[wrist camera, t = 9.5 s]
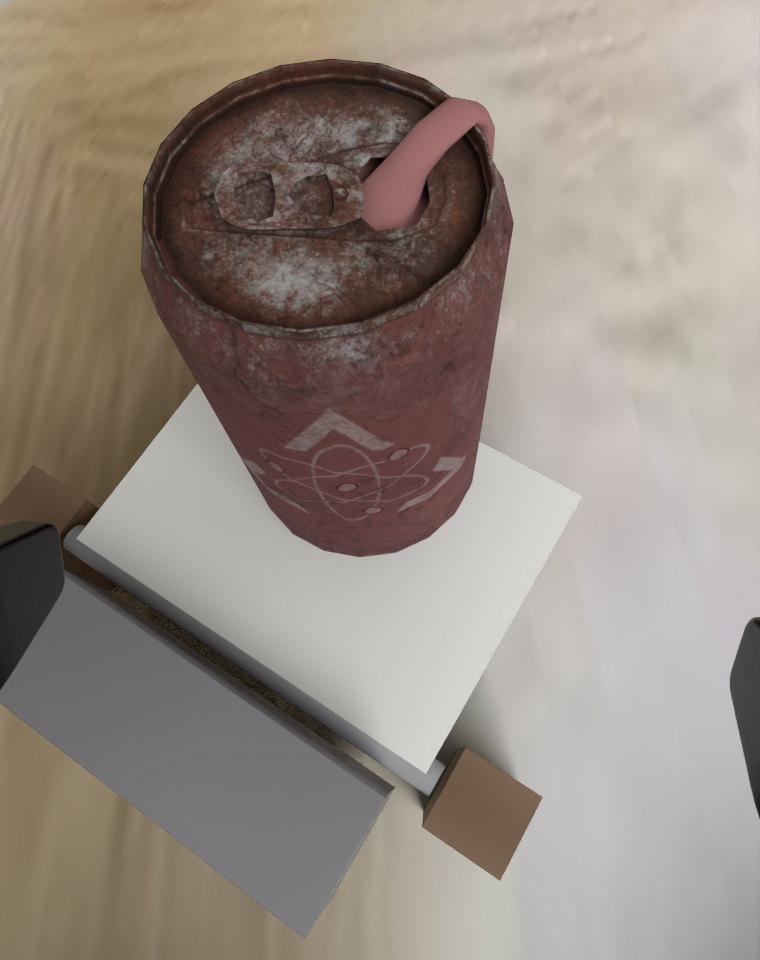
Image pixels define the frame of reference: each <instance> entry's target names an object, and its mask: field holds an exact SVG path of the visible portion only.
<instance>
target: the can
mask: <svg viewBox="0 0 760 960" xmlns="http://www.w3.org/2000/svg"><path fill="white" fill-rule="evenodd" d="M494 133H495V129H494V124H493V122H492V120H491V117H490V115H489V112H488V111H487V110H486V108H485V107H484V106H483V105H481V104H480V103H478V102H475V101H471V100H466V99H461V98H455V97H450V96H449V95H448V94H446V93H445V92H443V91H442V90H440V89H439V88H438V87H436V86H435V85H433V84H432V83H430V82H429V81H428V80H426V79H424V78H421V77H418V76H416V75H413V74H410V73H407V72H404V71H401V70H398V69H395V68H392V67H389V66H386V65H384V64H381V63H372V62H360V61H349V60H338V59H325V60H317V61H309V62H302V63H294V64H287V65H279V66H277V67H274V68H271V69H268V70H266V71H263V72H260V73H257V74H255V75H252V76H249V77H246V78H244V79H241V80H238V81H235V82H233V83H231V84H229V85H228V86H226V87H225V88H223V89H222V90H220V91H219V92H217V93H216V94H214V95H213V96H211V97H210V98H208V99H207V100H205V101H204V102H202V103H200V104H199V105H197V106H196V107H194V108H193V109H191V111H190V112H189V113H188V114H187V115H186V116H185V117H184V118H183V120H182V121H181V122H180V123H179V124H178V125H177V126H176V127H175V129H174V130H173V131H172V132H171V133H170V134H169V135H168V136H167V138H166V139H165V140H164V141H163V142H162V143H161V145H160V147H159V149H158V152H157V154H156V156H155V159H154V161H153V163H152V166H151V168H150V170H149V173H148V175H147V177H146V179H145V182H144V184H143V219H142V258H141V272H142V274H143V277H144V280H145V282H146V285H147V287H148V290H149V292H150V295H151V297H152V300H153V302H154V305H155V307H156V310H157V313H158V315H159V317H160V319H161V320H162V322H163V324H164V326H165V327H166V329H167V331H168V332H169V334H170V336H171V338H172V339H173V341H174V343H175V345H176V346H177V348H178V350H179V352H180V353H181V355H182V357H183V358H184V360H185V362H186V364H187V365H188V367H189V369H190V371H191V372H192V374H193V376H194V378H195V379H196V381H197V383H198V385H199V386H200V388H201V390H202V391H203V393H204V395H205V397H206V398H207V400H208V402H209V404H210V405H211V407H212V409H213V411H214V412H215V414H216V416H217V417H218V419H219V421H220V423H221V424H222V426H223V428H224V430H225V431H226V433H227V435H228V437H229V438H230V440H231V442H232V443H233V445H234V447H235V449H236V450H237V452H238V454H239V456H240V457H241V459H242V461H243V463H244V464H245V466H246V468H247V470H248V471H249V473H250V475H251V476H252V478H253V480H254V482H255V483H256V485H257V487H258V489H259V490H260V492H261V494H262V496H263V497H264V499H265V501H266V502H267V504H268V506H269V508H270V509H271V510H272V512H273V513H274V514H275V515H276V516H277V517H278V518H279V519H280V520H281V521H282V523H283V524H284V525H285V526H286V527H287V528H288V529H289V530H290V531H291V532H292V534H294V535H296V536H298V537H299V538H301V539H303V540H305V541H307V542H308V543H310V544H312V545H314V546H316V547H318V548H319V549H321V550H323V551H327V552H333V553H338V554H344V555H349V556H354V557H366V556H374V555H382V554H390V553H396V552H399V551H401V550H403V549H405V548H407V547H410V546H412V545H414V544H416V543H418V542H420V541H423V540H425V539H427V538H429V537H430V536H431V535H432V534H433V533H435V532H436V531H437V530H438V529H439V528H440V527H441V526H442V525H443V524H444V523H445V522H447V521H448V520H449V519H450V518H451V517H452V516H453V515H454V514H455V513H456V511H457V510H458V508H459V506H460V504H461V502H462V501H463V499H464V497H465V495H466V493H467V492H468V490H469V488H470V486H471V484H472V481H473V475H474V469H475V463H476V457H477V451H478V445H479V439H480V432H481V426H482V420H483V413H484V407H485V401H486V395H487V388H488V382H489V376H490V369H491V363H492V357H493V350H494V344H495V338H496V331H497V325H498V319H499V312H500V306H501V300H502V293H503V287H504V281H505V274H506V268H507V262H508V255H509V249H510V243H511V236H512V230H513V224H514V223H513V219H512V214H511V210H510V206H509V202H508V197H507V193H506V189H505V185H504V180H503V178H502V176H501V174H500V173H499V171H498V169H497V168H496V166H495V164H494V163H493V161H492V158H493V146H494Z"/></svg>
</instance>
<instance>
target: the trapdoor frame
mask: <svg viewBox="0 0 760 960" xmlns="http://www.w3.org/2000/svg"><path fill="white" fill-rule="evenodd" d="M98 510H99V509H98V508H97V507H95V506H94V505H93V504H91V503H90V502H89V501H87V500H86V499H84V498H83V497H81V496H80V495H78V494H77V493H75V492H74V491H72V490H71V489H69V488H68V487H66V486H64V485H63V484H61V483H60V482H58V481H57V480H55V479H54V478H52V477H51V476H49V475H48V474H46V473H45V472H43V471H41V470H40V469H38V468H37V467H35V466H34V465H33V467H32V468H31V469H30V470H29V471H28V473H27V474H26V475H25V476H24V477H23V479H22V480H21V481H20V482H19V483H18V485H17V486H16V487H15V488H14V489H13V491H12V492H11V493H10V494H9V495H8V497H7V498H6V499H5V500H4V501H3V503H2V504H1V505H0V526H1V525H5V524H9V523H13V522H17V521H21V520H33V521H40V522H48V523H51V524H53V525H54V526H55V527H56V528H57V530H58V532H59V535H60V542H61V550H62V557H63V565H64V570H66V571H68V572H70V573H72V574H74V575H76V576H78V577H80V578H82V579H84V580H86V581H88V582H90V583H92V584H94V585H96V586H98V587H100V588H103V589H105V590H107V591H110V590H111V588H112V587H113V586H114V584H115V583H114V582H113V581H111V580H110V579H108V578H107V577H105V576H104V575H103V574H101V573H100V572H98V571H97V570H95V569H94V568H92V567H91V566H89V565H88V564H86V563H85V562H83V561H82V560H80V559H79V558H78V557H76V556H75V555H73V554H72V553H70V552H69V551H67V550H66V549H65V548H64V547H63V542H64V539H65V537H66V535H67V534H68V533H69V531H70V530H72V529H73V528H74V527H76V526H78V525H84V526H87V524H88V523H89V522H90V520H91V519H92V518H93V517H94V515H95V514H96V513H97V511H98ZM541 799H542V797H541V796H540V795H538V794H537V793H535V792H534V791H532V790H531V789H529V788H528V787H526V786H525V785H523V784H521V783H520V782H518V781H517V780H515V779H514V778H512V777H511V776H509V775H508V774H506V773H505V772H503V771H502V770H500V769H498V768H497V767H495V766H494V765H492V764H491V763H489V762H488V761H486V760H485V759H483V758H482V757H480V756H479V755H477V754H475V753H474V752H472V751H471V750H469V749H468V748H459V749H458V750H457V752H456V754H455V756H454V758H453V759H452V761H451V763H450V765H449V767H448V768H447V770H446V772H445V774H444V776H443V777H442V779H441V781H440V783H439V785H438V786H437V788H436V790H435V792H434V794H433V795H432V797H431V799H430V801H429V803H428V804H427V806H426V808H425V810H424V812H423V824H422V827H423V828H425V829H426V830H428V831H429V832H430V833H432V834H433V835H435V836H436V837H438V838H439V839H441V840H442V841H443V842H445V843H446V844H448V845H449V846H451V847H452V848H454V849H455V850H456V851H458V852H459V853H461V854H462V855H464V856H465V857H466V858H468V859H469V860H471V861H472V862H474V863H475V864H477V865H478V866H479V867H481V868H482V869H484V870H485V871H487V872H488V873H490V874H491V875H492V876H494V877H495V878H497V879H498V880H501V878H502V876H503V874H504V872H505V870H506V868H507V866H508V864H509V862H510V860H511V858H512V856H513V854H514V852H515V850H516V848H517V846H518V844H519V842H520V841H521V839H522V837H523V835H524V833H525V831H526V829H527V827H528V825H529V823H530V821H531V819H532V817H533V815H534V813H535V811H536V809H537V807H538V805H539V803H540V801H541Z"/></svg>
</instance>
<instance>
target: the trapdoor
mask: <svg viewBox="0 0 760 960" xmlns="http://www.w3.org/2000/svg"><path fill="white" fill-rule="evenodd" d="M581 498H582V496H581V495H579V494H577V493H576V492H574V491H572V490H570V489H568V488H566V487H564V486H562V485H560V484H559V483H557V482H555V481H553V480H551V479H549V478H547V477H545V476H544V475H542V474H540V473H538V472H536V471H534V470H532V469H530V468H528V467H527V466H525V465H523V464H521V463H519V462H517V461H515V460H513V459H512V458H510V457H508V456H506V455H504V454H502V453H500V452H498V451H496V450H495V449H493V448H491V447H489V446H487V445H485V444H483V443H481V442H480V441H479V445H478V451H477V457H476V463H475V469H474V475H473V481H472V484H471V486H470V488H469V490H468V492H467V493H466V495H465V497H464V499H463V501H462V502H461V504H460V506H459V508H458V510H457V511H456V513H455V514H454V515H453V516H452V517H451V518H450V519H449V520H448V521H447V522H445V523H444V524H443V525H442V526H441V527H440V528H439V529H438V530H437V531H436V532H435V533H433V534H432V535H431V536H430V537H429V538H427V539H425V540H423V541H420V542H418V543H416V544H414V545H412V546H410V547H407V548H405V549H403V550H401V551H399V552H396V553H390V554H382V555H374V556H366V557H354V556H349V555H344V554H338V553H333V552H327V551H323V550H321V549H319V548H318V547H316V546H314V545H312V544H310V543H308V542H307V541H305V540H303V539H301V538H299V537H298V536H296V535H294V534H292V532H291V531H290V530H289V529H288V528H287V527H286V526H285V525H284V524H283V523H282V521H281V520H280V519H279V518H278V517H277V516H276V515H275V514H274V513H273V512H272V510H271V509H270V508H269V506H268V504H267V502H266V501H265V499H264V497H263V496H262V494H261V492H260V490H259V489H258V487H257V485H256V483H255V482H254V480H253V478H252V476H251V475H250V473H249V471H248V470H247V468H246V466H245V464H244V463H243V461H242V459H241V457H240V456H239V454H238V452H237V450H236V449H235V447H234V445H233V443H232V442H231V440H230V438H229V437H228V435H227V433H226V431H225V430H224V428H223V426H222V424H221V423H220V421H219V419H218V417H217V416H216V414H215V412H214V411H213V409H212V407H211V405H210V404H209V402H208V400H207V398H206V397H205V395H204V393H203V391H202V390H201V388H200V386H199V385H198V383H197V385H196V386H195V387H194V389H193V390H192V391H191V392H190V394H189V395H188V396H187V398H186V399H185V400H184V401H183V403H182V404H181V405H180V407H179V408H178V409H177V410H176V412H175V413H174V414H173V415H172V417H171V418H170V419H169V421H168V422H167V423H166V424H165V426H164V427H163V428H162V430H161V431H160V432H159V433H158V435H157V436H156V437H155V439H154V440H153V441H152V442H151V444H150V445H149V446H148V447H147V449H146V450H145V451H144V453H143V454H142V455H141V456H140V458H139V459H138V460H137V462H136V463H135V464H134V465H133V467H132V468H131V469H130V471H129V472H128V473H127V474H126V476H125V477H124V478H123V479H122V481H121V482H120V483H119V485H118V486H117V487H116V488H115V490H114V491H113V492H112V494H111V495H110V496H109V497H108V499H107V500H106V501H105V503H104V504H103V505H102V506H101V508H100V509H99V510H98V511H97V513H96V514H95V515H94V517H93V518H92V519H91V520H90V522H89V523H88V524H87V526H84V525H78V526H76V527H74V528H73V529H72V530H70V531H69V533H68V534H67V535H66V537H65V539H64V542H63V547H64V548H65V549H66V550H67V551H69V552H70V553H72V554H73V555H75V556H76V557H78V558H79V559H80V560H82V561H83V562H85V563H86V564H88V565H89V566H91V567H92V568H94V569H95V570H97V571H98V572H100V573H101V574H103V575H104V576H105V577H107V578H108V579H110V580H111V581H113V582H114V583H116V584H117V585H119V586H120V587H122V588H123V589H125V590H126V591H127V592H129V593H130V594H132V595H133V596H135V597H136V598H138V599H139V600H141V601H142V602H144V603H145V604H147V605H148V606H150V607H151V608H152V609H154V610H155V611H157V612H158V613H160V614H161V615H163V616H164V617H166V618H167V619H169V620H170V621H172V622H173V623H174V624H176V625H177V626H179V627H180V628H182V629H183V630H185V631H186V632H188V633H189V634H191V635H192V636H194V637H195V638H196V639H198V640H199V641H201V642H202V643H204V644H205V645H207V646H208V647H210V648H211V649H213V650H214V651H216V652H217V653H219V654H220V655H221V656H223V657H224V658H226V659H227V660H229V661H230V662H232V663H233V664H235V665H236V666H238V667H239V668H241V669H242V670H243V671H245V672H246V673H248V674H249V675H251V676H252V677H254V678H255V679H257V680H258V681H260V682H261V683H263V684H264V685H266V686H267V687H268V688H270V689H271V690H273V691H274V692H276V693H277V694H279V695H280V696H282V697H283V698H285V699H286V700H288V701H289V702H290V703H292V704H293V705H295V706H296V707H298V708H299V709H301V710H302V711H304V712H305V713H307V714H308V715H310V716H311V717H313V718H314V719H315V720H317V721H318V722H320V723H321V724H323V725H324V726H326V727H327V728H329V729H330V730H332V731H333V732H335V733H336V734H337V735H339V736H340V737H342V738H343V739H345V740H346V741H348V742H349V743H351V744H352V745H354V746H355V747H357V748H358V749H359V750H361V751H362V752H364V753H365V754H367V755H368V756H370V757H371V758H373V759H374V760H376V761H377V762H379V763H380V764H382V765H383V766H384V767H386V768H387V769H389V770H390V771H392V772H393V773H395V774H396V775H398V776H399V777H401V778H402V779H404V780H405V781H406V782H408V783H409V784H411V785H412V786H414V787H415V788H417V789H418V790H420V791H421V792H423V793H424V794H426V795H427V796H429V795H430V793H431V791H432V790H433V788H434V786H435V784H436V783H437V781H438V779H439V777H440V775H441V773H442V772H443V770H444V768H445V765H444V764H443V763H441V762H440V761H438V760H437V759H435V757H436V755H437V754H438V752H439V750H440V748H441V746H442V745H443V743H444V741H445V739H446V738H447V736H448V734H449V732H450V731H451V729H452V727H453V725H454V723H455V722H456V720H457V718H458V716H459V715H460V713H461V711H462V709H463V707H464V706H465V704H466V702H467V700H468V699H469V697H470V695H471V693H472V691H473V690H474V688H475V686H476V684H477V683H478V681H479V679H480V677H481V675H482V674H483V672H484V670H485V668H486V667H487V665H488V663H489V661H490V659H491V658H492V656H493V654H494V652H495V651H496V649H497V647H498V645H499V644H500V642H501V640H502V638H503V636H504V635H505V633H506V631H507V629H508V628H509V626H510V624H511V622H512V620H513V619H514V617H515V615H516V613H517V612H518V610H519V608H520V606H521V604H522V603H523V601H524V599H525V597H526V596H527V594H528V592H529V590H530V588H531V587H532V585H533V583H534V581H535V580H536V578H537V576H538V574H539V573H540V571H541V569H542V567H543V565H544V564H545V562H546V560H547V558H548V557H549V555H550V553H551V551H552V549H553V548H554V546H555V544H556V542H557V541H558V539H559V537H560V535H561V533H562V532H563V530H564V528H565V526H566V525H567V523H568V521H569V519H570V517H571V516H572V514H573V512H574V510H575V509H576V507H577V505H578V503H579V502H580V500H581ZM64 572H65V583H64V588H63V590H62V593H61V595H60V597H59V598H58V600H57V602H56V603H55V605H54V607H53V608H52V610H51V611H50V613H49V615H48V616H47V618H46V620H45V621H44V623H43V624H42V626H41V628H40V629H39V631H38V632H37V634H36V636H35V637H34V639H33V641H32V642H31V644H30V645H29V647H28V649H27V650H26V652H25V653H24V655H23V657H22V658H21V660H20V662H19V663H18V665H17V666H16V668H15V670H14V671H13V673H12V674H11V676H10V677H9V679H8V680H7V682H6V683H5V685H4V686H3V687H2V689H1V690H0V703H1V704H2V705H3V706H5V707H6V708H7V709H9V710H10V711H11V712H12V713H14V714H15V715H16V716H18V717H19V718H20V719H21V720H23V721H24V722H25V723H27V724H28V725H29V726H30V727H32V728H33V729H34V730H36V731H37V732H38V733H40V734H41V735H42V736H43V737H45V738H46V739H47V740H49V741H50V742H51V743H52V744H54V745H55V746H56V747H58V748H59V749H60V750H61V751H63V752H64V753H65V754H67V755H68V756H69V757H71V758H72V759H73V760H74V761H76V762H77V763H78V764H80V765H81V766H82V767H83V768H85V769H86V770H87V771H89V772H90V773H91V774H92V775H94V776H95V777H96V778H98V779H99V780H100V781H102V782H103V783H104V784H105V785H107V786H108V787H109V788H111V789H112V790H113V791H114V792H116V793H117V794H118V795H120V796H121V797H122V798H123V799H125V800H126V801H127V802H129V803H130V804H131V805H133V806H134V807H135V808H136V809H138V810H139V811H140V812H142V813H143V814H144V815H145V816H147V817H148V818H149V819H151V820H152V821H153V822H154V823H156V824H157V825H158V826H160V827H161V828H162V829H163V830H165V831H166V832H167V833H169V834H170V835H171V836H173V837H174V838H175V839H176V840H178V841H179V842H180V843H182V844H183V845H184V846H185V847H187V848H188V849H189V850H191V851H192V852H193V853H194V854H196V855H197V856H198V857H200V858H201V859H202V860H204V861H205V862H206V863H207V864H209V865H210V866H211V867H213V868H214V869H215V870H216V871H218V872H219V873H220V874H222V875H223V876H224V877H225V878H227V879H228V880H229V881H231V882H232V883H233V884H235V885H236V886H237V887H238V888H240V889H241V890H242V891H244V892H245V893H246V894H247V895H249V896H250V897H251V898H253V899H254V900H255V901H256V902H258V903H259V904H260V905H262V906H263V907H264V908H265V909H267V910H268V911H269V912H271V913H272V914H273V915H275V916H276V917H277V918H278V919H280V920H281V921H282V922H284V923H285V924H286V925H287V926H289V927H290V928H291V929H293V930H294V931H295V932H296V933H298V934H299V935H300V936H302V937H303V938H305V937H306V935H307V934H308V932H309V931H310V929H311V928H312V926H313V925H314V923H315V922H316V920H317V919H318V917H319V916H320V914H321V913H322V911H323V910H324V908H325V907H326V905H327V904H328V902H329V901H330V899H331V898H332V896H333V895H334V893H335V891H336V889H337V888H338V886H339V884H340V882H341V881H342V879H343V877H344V875H345V874H346V872H347V870H348V868H349V867H350V865H351V863H352V861H353V860H354V858H355V856H356V854H357V853H358V851H359V849H360V847H361V846H362V844H363V842H364V840H365V839H366V837H367V835H368V833H369V832H370V830H371V828H372V826H373V825H374V823H375V821H376V819H377V818H378V816H379V814H380V812H381V811H382V809H383V807H384V805H385V804H386V802H387V800H388V799H389V797H390V795H391V793H392V792H393V790H394V788H395V787H394V786H392V785H391V784H389V783H388V782H386V781H385V780H383V779H382V778H381V777H379V776H378V775H376V774H375V773H373V772H372V771H370V770H369V769H367V768H366V767H364V766H363V765H362V764H360V763H359V762H357V761H356V760H354V759H353V758H351V757H350V756H348V755H347V754H346V753H344V752H343V751H341V750H340V749H338V748H337V747H335V746H334V745H332V744H331V743H330V742H328V741H327V740H325V739H324V738H322V737H321V736H319V735H318V734H316V733H315V732H313V731H312V730H311V729H309V728H308V727H306V726H305V725H303V724H302V723H300V722H299V721H297V720H296V719H295V718H293V717H292V716H290V715H289V714H287V713H286V712H284V711H283V710H281V709H280V708H279V707H277V706H276V705H274V704H273V703H271V702H270V701H268V700H267V699H265V698H264V697H263V696H261V695H260V694H258V693H257V692H255V691H254V690H252V689H251V688H249V687H248V686H246V685H245V684H244V683H242V682H241V681H239V680H238V679H236V678H235V677H233V676H232V675H230V674H229V673H228V672H226V671H225V670H223V669H222V668H220V667H219V666H217V665H216V664H214V663H213V662H212V661H210V660H209V659H207V658H206V657H204V656H203V655H201V654H200V653H198V652H197V651H195V650H194V649H193V648H191V647H190V646H188V645H187V644H185V643H184V642H182V641H181V640H179V639H178V638H177V637H175V636H174V635H172V634H171V633H169V632H168V631H166V630H165V629H163V628H162V627H161V626H159V625H158V624H156V623H155V622H153V621H152V620H150V619H149V618H147V617H146V616H145V615H143V614H142V613H140V612H139V611H137V610H136V609H134V608H133V607H131V606H130V605H128V604H127V603H126V602H124V601H123V600H121V599H120V598H118V597H117V596H115V595H114V594H112V593H111V592H109V591H107V590H105V589H103V588H100V587H98V586H96V585H94V584H92V583H90V582H88V581H86V580H84V579H82V578H80V577H78V576H76V575H74V574H72V573H70V572H68V571H66V570H64Z"/></svg>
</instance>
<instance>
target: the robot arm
mask: <svg viewBox="0 0 760 960" xmlns="http://www.w3.org/2000/svg"><path fill="white" fill-rule="evenodd" d="M64 583H65V572H64V565H63V557H62V550H61V542H60V535H59V532H58V530H57V528H56V527H55V526H54V525H53V524H51V523H48V522H40V521H33V520H21V521H17V522H13V523H9V524H5V525H1V526H0V690H1V689H2V687H3V686H4V685H5V683H6V682H7V680H8V679H9V677H10V676H11V674H12V673H13V671H14V670H15V668H16V666H17V665H18V663H19V662H20V660H21V658H22V657H23V655H24V653H25V652H26V650H27V649H28V647H29V645H30V644H31V642H32V641H33V639H34V637H35V636H36V634H37V632H38V631H39V629H40V628H41V626H42V624H43V623H44V621H45V620H46V618H47V616H48V615H49V613H50V611H51V610H52V608H53V607H54V605H55V603H56V602H57V600H58V598H59V597H60V595H61V593H62V590H63V588H64ZM730 691H731V697H732V701H733V706H734V711H735V715H736V720H737V725H738V729H739V734H740V739H741V743H742V748H743V752H744V757H745V762H746V766H747V771H748V776H749V780H750V785H751V789H752V793H753V797H754V801H755V805H756V808H757V812H758V815H759V818H760V617H754V618H752V619H751V620H750V621H749V622H748V624H747V625H746V627H745V630H744V633H743V636H742V639H741V642H740V645H739V648H738V652H737V655H736V658H735V661H734V664H733V667H732V671H731V675H730Z"/></svg>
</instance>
